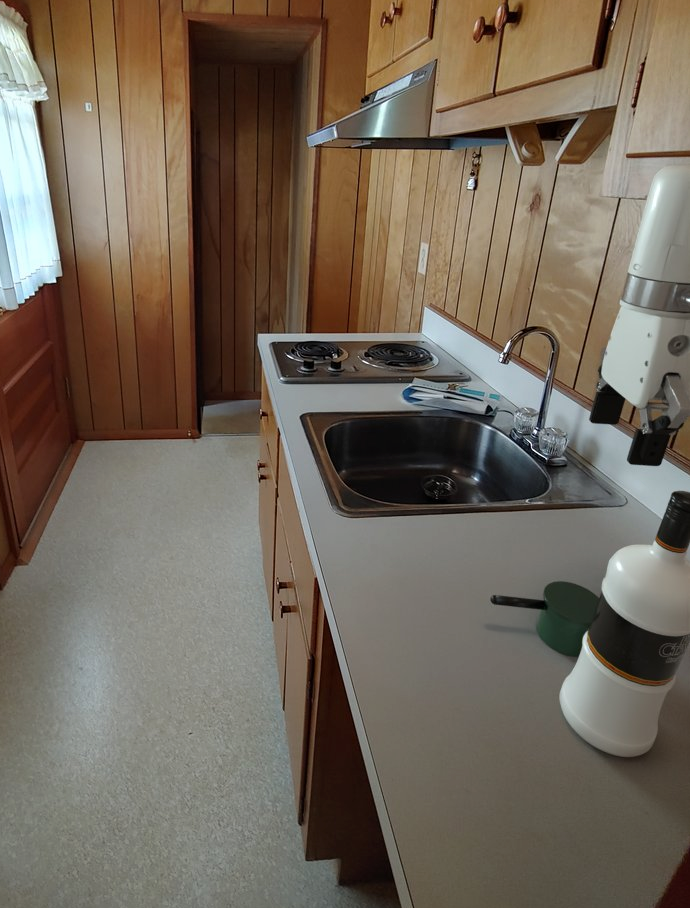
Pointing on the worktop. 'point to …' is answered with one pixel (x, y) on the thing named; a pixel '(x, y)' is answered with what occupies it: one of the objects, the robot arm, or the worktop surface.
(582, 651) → the vodka
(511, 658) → the worktop surface
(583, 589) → the pot
